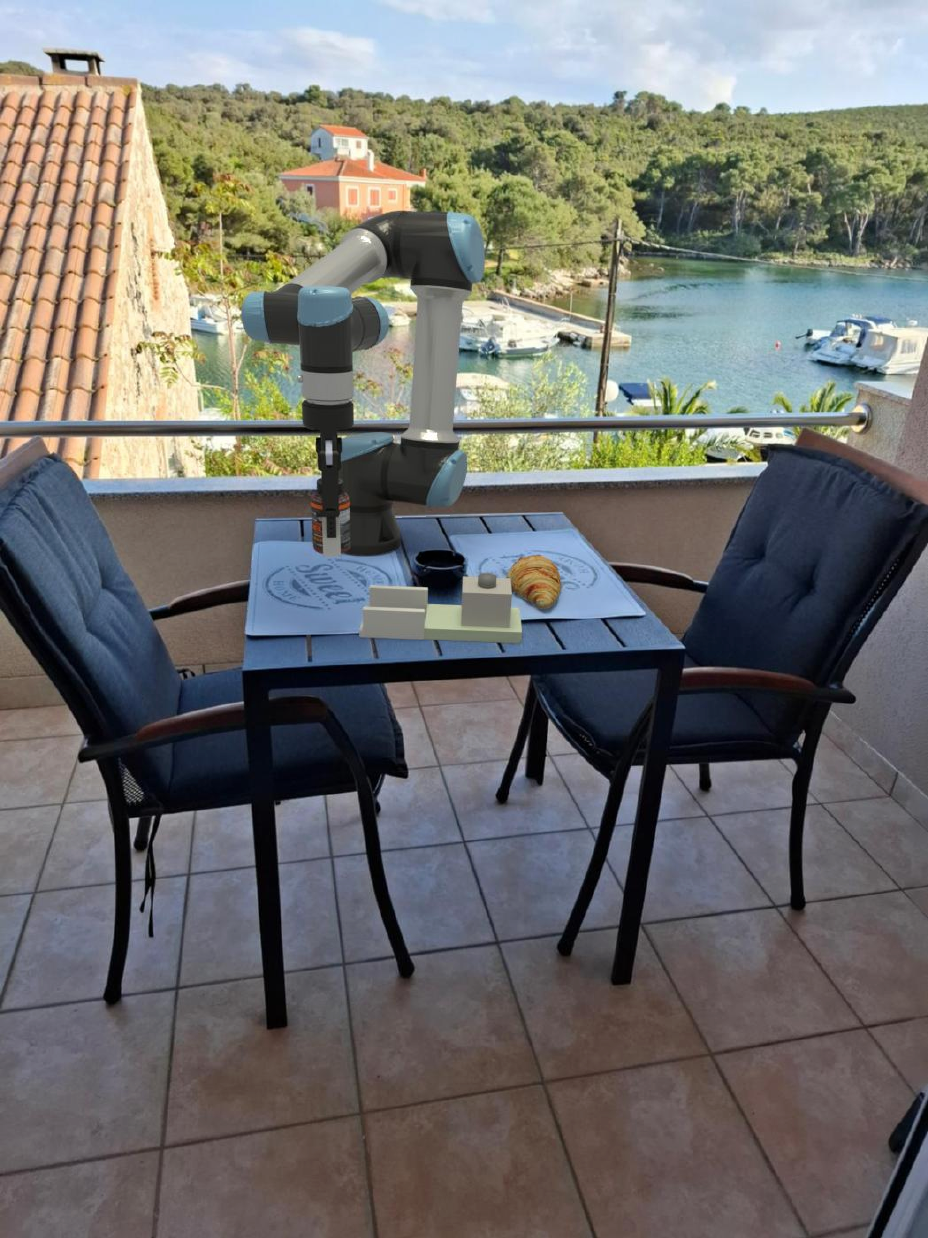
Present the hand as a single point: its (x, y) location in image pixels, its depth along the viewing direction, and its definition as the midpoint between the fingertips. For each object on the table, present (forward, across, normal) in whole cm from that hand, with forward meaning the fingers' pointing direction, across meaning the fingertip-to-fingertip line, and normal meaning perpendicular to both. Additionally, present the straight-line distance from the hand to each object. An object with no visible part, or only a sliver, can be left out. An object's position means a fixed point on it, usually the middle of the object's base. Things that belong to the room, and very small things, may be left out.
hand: (332, 547), depth 132 cm
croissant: (+15, -16, +37) cm, 43 cm away
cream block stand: (+15, -1, +18) cm, 23 cm away
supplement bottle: (0, 0, 0) cm, 1 cm away
